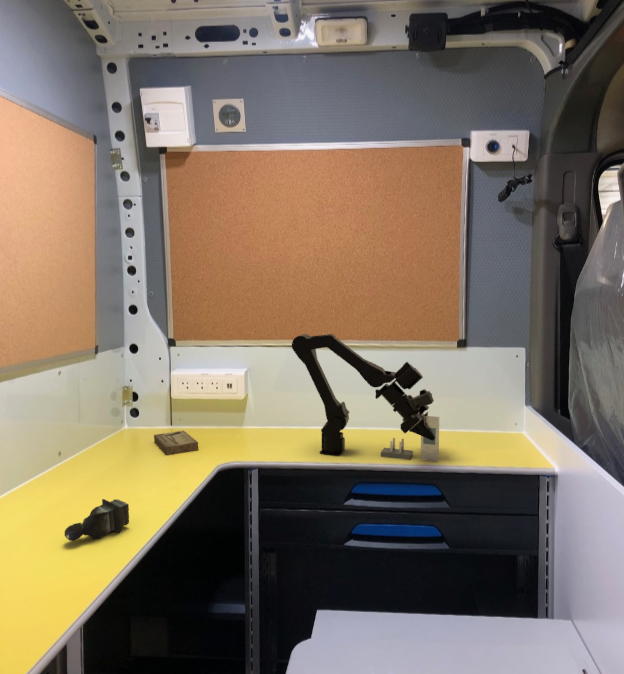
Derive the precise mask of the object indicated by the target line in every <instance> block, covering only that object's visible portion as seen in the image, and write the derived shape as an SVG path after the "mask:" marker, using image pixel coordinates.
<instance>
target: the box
mask: <svg viewBox="0 0 624 674" xmlns="http://www.w3.org/2000/svg"><path fill="white" fill-rule="evenodd" d="M153 440H154V444H156V446H158V449H159V450H160V451H162V452H163V453H164V454H165V455H166V456H171V455H177V454H183V453H191V452H196V451H199V442H198V441H197V440H196V439H195V438H194V437H192V436H191V435H190V434H189V433H187V432H186V431H185V430H177V431H171V432H163V433H158V434H154V435H153Z"/></svg>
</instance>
